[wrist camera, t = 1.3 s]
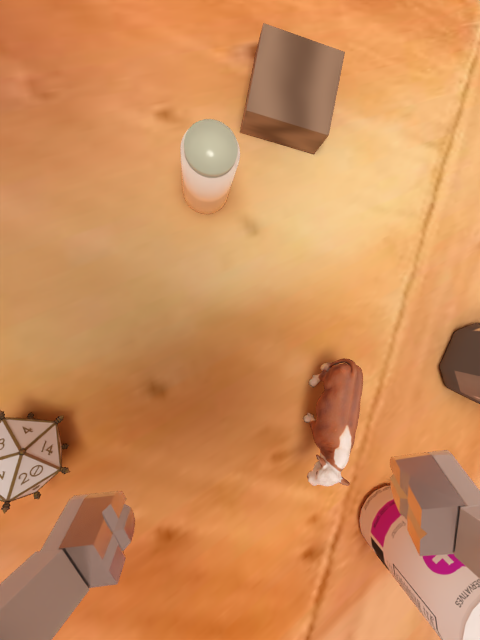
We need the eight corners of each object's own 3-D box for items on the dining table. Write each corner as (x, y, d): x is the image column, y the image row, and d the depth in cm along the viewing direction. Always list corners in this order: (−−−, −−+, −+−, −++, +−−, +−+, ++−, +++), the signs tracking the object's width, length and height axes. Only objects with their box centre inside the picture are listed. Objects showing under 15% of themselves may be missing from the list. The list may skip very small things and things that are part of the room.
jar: (179, 207, 35) (174, 168, 25) (187, 163, 35) (186, 107, 25) (223, 218, 36) (235, 184, 26) (231, 175, 36) (246, 125, 26)
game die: (61, 410, 37) (76, 390, 30) (69, 488, 35) (88, 486, 27) (-41, 430, 32) (-52, 411, 24) (-39, 523, 29) (-51, 534, 22)
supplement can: (356, 484, 39) (457, 589, 25) (416, 479, 41) (546, 576, 26) (355, 548, 40) (454, 690, 25) (414, 541, 41) (542, 672, 26)
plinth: (240, 132, 36) (246, 110, 32) (255, 54, 36) (263, 23, 32) (313, 154, 37) (328, 135, 33) (328, 79, 37) (344, 52, 33)
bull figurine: (285, 457, 38) (310, 496, 30) (315, 349, 38) (348, 359, 30) (318, 464, 39) (352, 504, 30) (347, 358, 39) (388, 370, 31)
